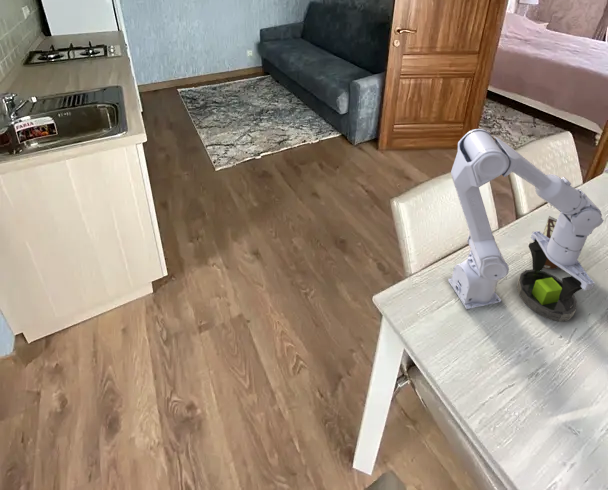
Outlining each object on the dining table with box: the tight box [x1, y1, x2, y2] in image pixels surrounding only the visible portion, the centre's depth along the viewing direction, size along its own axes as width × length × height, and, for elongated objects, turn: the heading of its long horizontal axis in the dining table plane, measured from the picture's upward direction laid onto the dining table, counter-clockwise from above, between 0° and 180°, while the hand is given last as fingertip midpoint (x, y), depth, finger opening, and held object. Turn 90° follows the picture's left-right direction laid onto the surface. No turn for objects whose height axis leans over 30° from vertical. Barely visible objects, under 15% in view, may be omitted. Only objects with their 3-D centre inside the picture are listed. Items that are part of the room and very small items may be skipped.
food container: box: [542, 215, 559, 270], centre depth 93 cm, size 12×6×10 cm, turn 143°
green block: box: [532, 277, 562, 305], centre depth 83 cm, size 4×3×4 cm
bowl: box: [516, 268, 578, 323], centre depth 84 cm, size 12×12×3 cm
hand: (550, 283), depth 82 cm, fingers open, 7 cm apart
